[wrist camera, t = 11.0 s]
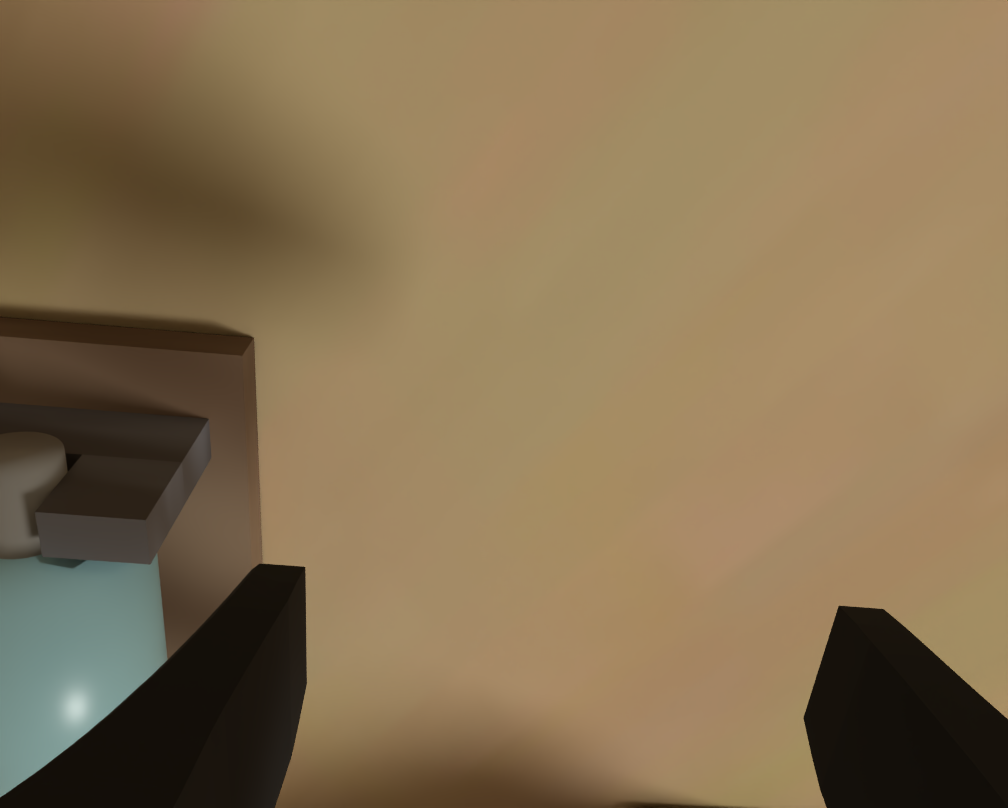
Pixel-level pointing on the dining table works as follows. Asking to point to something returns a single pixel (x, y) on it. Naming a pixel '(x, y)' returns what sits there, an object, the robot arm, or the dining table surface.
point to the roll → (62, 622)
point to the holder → (144, 452)
